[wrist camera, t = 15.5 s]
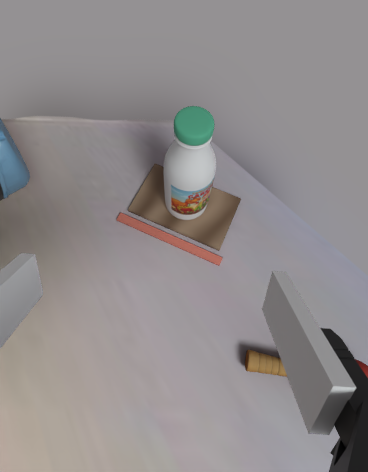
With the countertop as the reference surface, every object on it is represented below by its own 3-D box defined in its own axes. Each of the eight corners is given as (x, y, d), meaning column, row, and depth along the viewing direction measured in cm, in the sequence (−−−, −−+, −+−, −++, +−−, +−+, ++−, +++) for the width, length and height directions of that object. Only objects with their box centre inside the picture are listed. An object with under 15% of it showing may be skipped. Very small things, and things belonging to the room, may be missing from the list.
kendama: (241, 391, 39) (369, 418, 36) (247, 391, 34) (398, 423, 31) (244, 338, 43) (360, 359, 40) (250, 331, 38) (385, 354, 35)
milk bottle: (157, 208, 47) (146, 129, 28) (178, 177, 49) (181, 84, 30) (194, 228, 46) (208, 160, 27) (214, 195, 48) (240, 111, 29)
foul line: (116, 220, 46) (116, 219, 46) (120, 213, 47) (120, 212, 46) (218, 265, 44) (219, 265, 44) (222, 258, 45) (222, 257, 44)
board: (128, 211, 47) (127, 209, 46) (155, 165, 50) (154, 163, 50) (218, 250, 45) (219, 249, 44) (240, 200, 49) (240, 198, 48)
